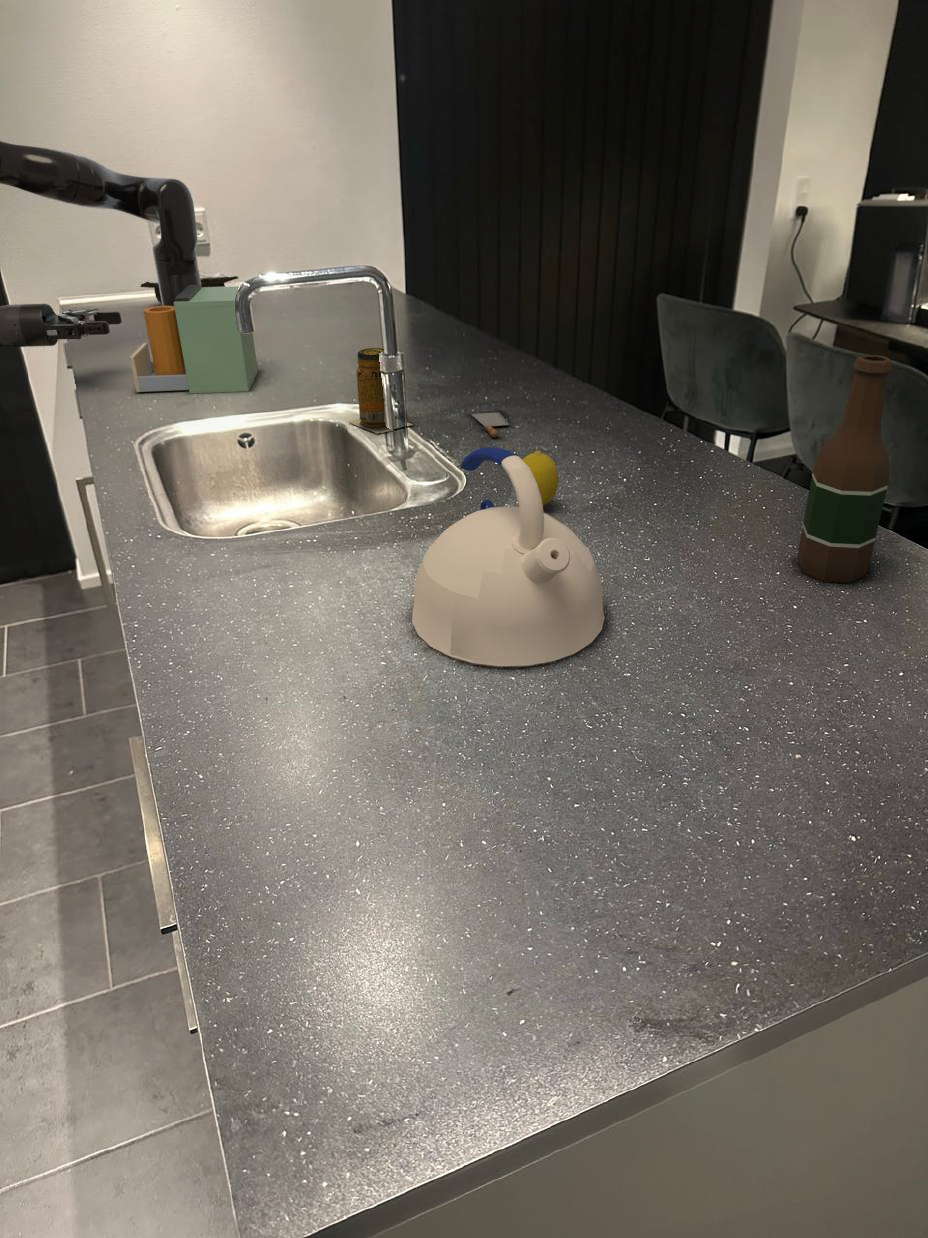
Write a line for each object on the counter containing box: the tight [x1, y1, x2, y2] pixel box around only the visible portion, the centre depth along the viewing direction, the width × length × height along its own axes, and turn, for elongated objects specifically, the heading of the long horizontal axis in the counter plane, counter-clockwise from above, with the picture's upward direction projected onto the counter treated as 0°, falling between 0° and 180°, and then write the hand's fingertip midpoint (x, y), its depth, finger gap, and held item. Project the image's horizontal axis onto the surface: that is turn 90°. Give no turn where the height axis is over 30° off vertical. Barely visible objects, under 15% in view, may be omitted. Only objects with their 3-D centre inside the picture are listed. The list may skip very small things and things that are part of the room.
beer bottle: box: [797, 354, 894, 584], centre depth 97 cm, size 8×8×24 cm
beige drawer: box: [129, 342, 189, 393], centre depth 173 cm, size 11×11×6 cm
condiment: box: [349, 347, 413, 434], centre depth 148 cm, size 7×8×12 cm
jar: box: [143, 305, 186, 376], centre depth 171 cm, size 6×6×13 cm
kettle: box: [411, 446, 605, 668], centre depth 91 cm, size 20×21×18 cm
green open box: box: [174, 285, 259, 394], centre depth 171 cm, size 14×11×17 cm
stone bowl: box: [140, 275, 239, 304], centre depth 235 cm, size 25×25×9 cm
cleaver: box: [470, 411, 510, 439], centre depth 150 cm, size 13×1×5 cm
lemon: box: [522, 450, 559, 506], centre depth 118 cm, size 6×6×8 cm
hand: (114, 322), depth 169 cm, fingers open, 8 cm apart
